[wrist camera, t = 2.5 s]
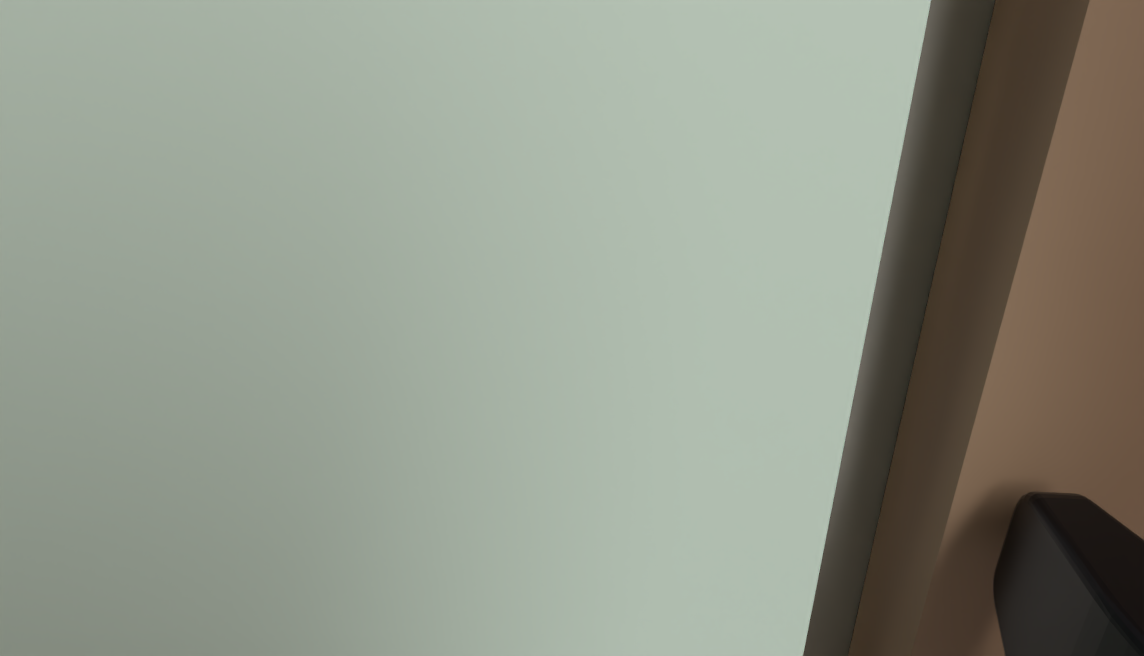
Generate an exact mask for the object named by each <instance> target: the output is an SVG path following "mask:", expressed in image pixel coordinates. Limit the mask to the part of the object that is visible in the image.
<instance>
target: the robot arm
mask: <svg viewBox="0 0 1144 656" xmlns="http://www.w3.org/2000/svg"><path fill="white" fill-rule="evenodd" d="M993 596H994V604H995V609H996V614H997V619H998V624H999V628H1000V633H1001V638H1002V643H1003V648H1004V652H1005V656H1144V540H1143V539H1142V538H1141V537H1139V536H1138V535H1137V534H1135V533H1134V532H1133V531H1131V530H1130V529H1129V528H1127V527H1126V526H1125V525H1123V524H1122V523H1121V522H1119V521H1118V520H1117V519H1115V518H1114V517H1113V516H1111V515H1110V514H1109V513H1107V512H1106V511H1105V510H1103V509H1102V508H1101V507H1100V506H1098V505H1097V504H1096V503H1094V502H1093V501H1091V500H1090V499H1088V498H1087V497H1085V496H1083V495H1080V494H1075V493H1057V492H1029V493H1027V494H1025V495H1023V496H1022V497H1021V498H1020V499H1019V501H1018V502H1017V504H1016V506H1015V509H1014V512H1013V515H1012V518H1011V521H1010V524H1009V527H1008V531H1007V534H1006V537H1005V540H1004V543H1003V546H1002V549H1001V553H1000V556H999V559H998V562H997V565H996V569H995V573H994V580H993Z"/></svg>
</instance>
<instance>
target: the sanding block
mask: <svg viewBox="0 0 1144 656" xmlns="http://www.w3.org/2000/svg"><path fill="white" fill-rule="evenodd" d="M930 4H931V0H0V656H803V653H804V648H805V643H806V638H807V632H808V627H809V622H810V617H811V612H812V607H813V602H814V597H815V592H816V586H817V581H818V576H819V571H820V566H821V561H822V556H823V551H824V546H825V540H826V535H827V530H828V525H829V520H830V515H831V510H832V505H833V500H834V494H835V489H836V484H837V479H838V474H839V469H840V464H841V459H842V454H843V448H844V443H845V438H846V433H847V428H848V423H849V418H850V413H851V407H852V402H853V397H854V392H855V387H856V382H857V377H858V372H859V367H860V361H861V356H862V351H863V346H864V341H865V336H866V331H867V326H868V321H869V315H870V310H871V305H872V300H873V295H874V290H875V285H876V280H877V275H878V269H879V264H880V259H881V254H882V249H883V244H884V239H885V234H886V229H887V223H888V218H889V213H890V208H891V203H892V198H893V193H894V188H895V183H896V177H897V172H898V167H899V162H900V157H901V152H902V147H903V142H904V136H905V131H906V126H907V121H908V116H909V111H910V106H911V101H912V96H913V90H914V85H915V80H916V75H917V70H918V65H919V60H920V55H921V50H922V44H923V39H924V34H925V29H926V24H927V19H928V14H929V9H930Z"/></svg>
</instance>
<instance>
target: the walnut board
mask: <svg viewBox="0 0 1144 656" xmlns="http://www.w3.org/2000/svg"><path fill="white" fill-rule="evenodd" d="M1029 492H1057V493H1075V494H1080V495H1083V496H1085V497H1087V498H1088V499H1090V500H1091V501H1093V502H1094V503H1096V504H1097V505H1098V506H1100V507H1101V508H1102V509H1103V510H1105V511H1106V512H1107V513H1109V514H1110V515H1111V516H1113V517H1114V518H1115V519H1117V520H1118V521H1119V522H1121V523H1122V524H1123V525H1125V526H1126V527H1127V528H1129V529H1130V530H1131V531H1133V532H1134V533H1135V534H1137V535H1138V536H1139V537H1141V538H1142V539H1143V540H1144V0H996V1H995V5H994V10H993V14H992V18H991V23H990V27H989V32H988V36H987V41H986V45H985V50H984V54H983V58H982V63H981V67H980V72H979V76H978V81H977V85H976V90H975V94H974V98H973V103H972V107H971V112H970V116H969V121H968V125H967V129H966V134H965V138H964V143H963V147H962V152H961V156H960V161H959V165H958V169H957V174H956V178H955V183H954V187H953V192H952V196H951V200H950V205H949V209H948V214H947V218H946V223H945V227H944V232H943V236H942V240H941V245H940V249H939V254H938V258H937V263H936V267H935V271H934V276H933V280H932V285H931V289H930V294H929V298H928V303H927V307H926V311H925V316H924V320H923V325H922V329H921V334H920V338H919V343H918V347H917V351H916V356H915V360H914V365H913V369H912V374H911V378H910V382H909V387H908V391H907V396H906V400H905V405H904V409H903V414H902V418H901V422H900V427H899V431H898V436H897V440H896V445H895V449H894V453H893V458H892V462H891V467H890V471H889V476H888V480H887V485H886V489H885V493H884V498H883V502H882V507H881V511H880V516H879V520H878V525H877V529H876V533H875V538H874V542H873V547H872V551H871V556H870V560H869V564H868V569H867V573H866V578H865V582H864V587H863V591H862V596H861V600H860V604H859V609H858V613H857V618H856V622H855V627H854V631H853V635H852V640H851V644H850V649H849V653H848V656H1005V652H1004V648H1003V643H1002V638H1001V633H1000V628H999V624H998V619H997V614H996V609H995V604H994V596H993V580H994V573H995V569H996V565H997V562H998V559H999V556H1000V553H1001V549H1002V546H1003V543H1004V540H1005V537H1006V534H1007V531H1008V527H1009V524H1010V521H1011V518H1012V515H1013V512H1014V509H1015V506H1016V504H1017V502H1018V501H1019V499H1020V498H1021V497H1022V496H1023V495H1025V494H1027V493H1029Z"/></svg>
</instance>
